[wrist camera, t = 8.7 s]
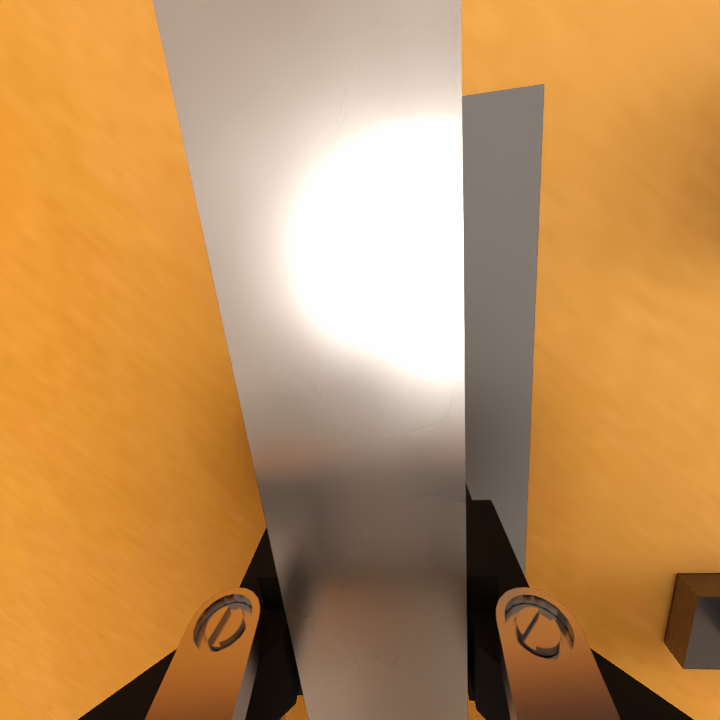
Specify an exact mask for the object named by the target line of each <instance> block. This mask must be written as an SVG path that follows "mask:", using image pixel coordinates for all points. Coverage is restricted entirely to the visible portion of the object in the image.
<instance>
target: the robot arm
mask: <svg viewBox="0 0 720 720" xmlns="http://www.w3.org/2000/svg"><path fill="white" fill-rule="evenodd" d="M466 577H467V680H468V695H469V700H470V701H475V704H476V709H477V711H478V712H479V713H480V714H481V715H482V716H483V717H484V718H485V719H486V720H693V719H692V718H690V717H689V716H688V715H686V714H685V713H683V712H682V711H680V710H679V709H677V708H676V707H675V706H673V705H672V704H670V703H669V702H667V701H666V700H664V699H663V698H662V697H660V696H659V695H657V694H656V693H654V692H653V691H651V690H650V689H648V688H647V687H646V686H644V685H643V684H641V683H640V682H638V681H637V680H635V679H634V678H633V677H631V676H630V675H628V674H627V673H625V672H624V671H622V670H621V669H620V668H618V667H617V666H615V665H614V664H612V663H611V662H609V661H608V660H607V659H605V658H604V657H602V656H601V655H599V654H598V653H596V652H595V651H593V650H592V649H591V648H590V647H589V645H588V643H587V640H586V638H585V636H584V633H583V631H582V629H581V627H580V625H579V623H578V622H577V620H576V618H575V617H574V615H573V614H572V613H571V612H570V611H569V610H568V609H567V608H566V607H565V606H564V605H563V604H562V603H561V602H559V601H558V600H557V599H555V598H554V597H552V596H551V595H549V594H546V593H544V592H542V591H540V590H536V589H532V588H529V585H528V583H527V581H526V578H525V576H524V574H523V572H522V569H521V567H520V565H519V562H518V560H517V558H516V555H515V553H514V551H513V548H512V546H511V544H510V542H509V539H508V537H507V535H506V532H505V530H504V528H503V525H502V523H501V521H500V518H499V516H498V514H497V511H496V509H495V507H494V505H493V503H492V501H491V500H472V498H471V495H470V492H469V490H468V487H467V484H466ZM297 695H303V691H302V687H301V682H300V677H299V673H298V668H297V664H296V659H295V654H294V650H293V645H292V641H291V636H290V631H289V627H288V622H287V617H286V613H285V608H284V604H283V599H282V594H281V590H280V585H279V581H278V576H277V571H276V567H275V562H274V558H273V553H272V548H271V544H270V539H269V534H268V530H267V527H266V530H265V532H264V534H263V536H262V539H261V541H260V543H259V545H258V547H257V550H256V552H255V554H254V556H253V558H252V561H251V563H250V565H249V567H248V570H247V572H246V574H245V576H244V578H243V581H242V583H241V585H240V587H239V588H231V589H227V590H224V591H222V592H220V593H218V594H216V595H214V596H213V597H211V598H210V599H209V600H207V601H206V602H205V603H204V604H203V605H202V606H201V607H200V608H199V609H198V610H197V611H196V613H195V614H194V616H193V617H192V619H191V621H190V622H189V624H188V626H187V628H186V631H185V633H184V635H183V637H182V639H181V641H180V644H179V646H178V648H177V649H176V650H174V651H173V652H172V653H170V654H169V655H167V656H166V657H165V658H163V659H162V660H160V661H159V662H158V663H156V664H155V665H153V666H152V667H151V668H149V669H148V670H146V671H145V672H144V673H142V674H141V675H139V676H138V677H137V678H135V679H134V680H132V681H131V682H130V683H128V684H127V685H126V686H124V687H123V688H121V689H120V690H119V691H117V692H116V693H114V694H113V695H112V696H110V697H109V698H107V699H106V700H105V701H103V702H102V703H100V704H99V705H98V706H96V707H95V708H93V709H92V710H91V711H89V712H88V713H86V714H85V715H84V716H82V717H81V718H79V719H78V720H285V714H286V713H287V712H288V711H289V710H290V709H291V708H292V707H293V706H294V705H295V704H296V700H297Z"/></svg>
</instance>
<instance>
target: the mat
mask: <svg viewBox="0 0 720 720" xmlns="http://www.w3.org/2000/svg"><path fill="white" fill-rule="evenodd" d="M543 107H544V84H541V85H535V86H528V87H521V88H515V89H508V90H501V91H495V92H488V93H481V94H475V95H468V96H462V163H463V267H464V370H465V473H466V484H467V487H468V490H469V492H470V495H471V498H472V500H491V501H492V503H493V505H494V507H495V509H496V511H497V514H498V516H499V518H500V521H501V523H502V525H503V528H504V530H505V532H506V535H507V537H508V539H509V542H510V544H511V546H512V548H513V551H514V553H515V555H516V558H517V560H518V562H519V565H520V567H521V569H522V572H523V574H525V549H526V525H527V500H528V475H529V451H530V426H531V402H532V377H533V353H534V328H535V304H536V279H537V254H538V230H539V205H540V181H541V156H542V132H543Z"/></svg>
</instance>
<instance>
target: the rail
mask: <svg viewBox="0 0 720 720" xmlns="http://www.w3.org/2000/svg"><path fill="white" fill-rule="evenodd" d="M153 4H154V9H155V14H156V18H157V23H158V27H159V32H160V37H161V41H162V46H163V51H164V55H165V60H166V64H167V69H168V74H169V78H170V83H171V87H172V92H173V97H174V101H175V106H176V110H177V115H178V120H179V124H180V129H181V134H182V138H183V143H184V147H185V152H186V157H187V161H188V166H189V170H190V175H191V180H192V184H193V189H194V193H195V198H196V203H197V207H198V212H199V216H200V221H201V226H202V230H203V235H204V240H205V244H206V249H207V253H208V258H209V263H210V267H211V272H212V276H213V281H214V286H215V290H216V295H217V299H218V304H219V309H220V313H221V318H222V322H223V327H224V332H225V336H226V341H227V346H228V350H229V355H230V359H231V364H232V369H233V373H234V378H235V382H236V387H237V392H238V396H239V401H240V405H241V410H242V415H243V419H244V424H245V428H246V433H247V438H248V442H249V447H250V452H251V456H252V461H253V465H254V470H255V475H256V479H257V484H258V488H259V493H260V498H261V502H262V507H263V511H264V516H265V521H266V525H267V530H268V534H269V539H270V544H271V548H272V553H273V558H274V562H275V567H276V571H277V576H278V581H279V585H280V590H281V594H282V599H283V604H284V608H285V613H286V617H287V622H288V627H289V631H290V636H291V641H292V645H293V650H294V654H295V659H296V664H297V668H298V673H299V677H300V682H301V687H302V691H303V696H304V700H305V705H306V710H307V714H308V719H309V720H468V680H467V577H466V473H465V370H464V267H463V163H462V60H461V0H153Z"/></svg>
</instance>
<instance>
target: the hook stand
mask: <svg viewBox="0 0 720 720" xmlns="http://www.w3.org/2000/svg"><path fill="white" fill-rule="evenodd" d="M665 645H666V646H667V647H668V649H669V650H670V652H671V653H672V654H673V656H674V657H675V658H676V660H677V661H678V662H679V664H680V665H681V666H682V668H683V669H717V670H720V574H678V576H677V581H676V586H675V591H674V597H673V602H672V607H671V612H670V618H669V623H668V628H667V633H666V639H665Z"/></svg>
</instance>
